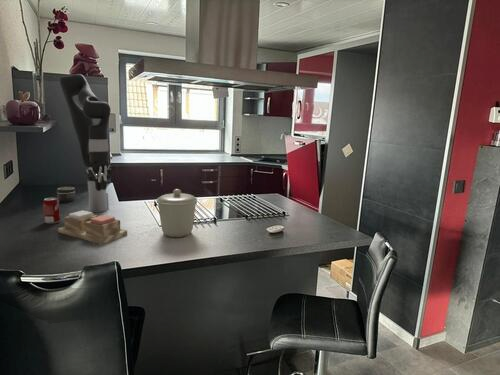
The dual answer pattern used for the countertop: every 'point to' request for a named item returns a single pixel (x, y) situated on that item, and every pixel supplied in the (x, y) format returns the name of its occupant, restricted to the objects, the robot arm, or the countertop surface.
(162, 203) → the canister
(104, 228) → the frame
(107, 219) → the red key
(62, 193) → the jar
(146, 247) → the countertop surface
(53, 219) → the soda can
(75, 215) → the white key
